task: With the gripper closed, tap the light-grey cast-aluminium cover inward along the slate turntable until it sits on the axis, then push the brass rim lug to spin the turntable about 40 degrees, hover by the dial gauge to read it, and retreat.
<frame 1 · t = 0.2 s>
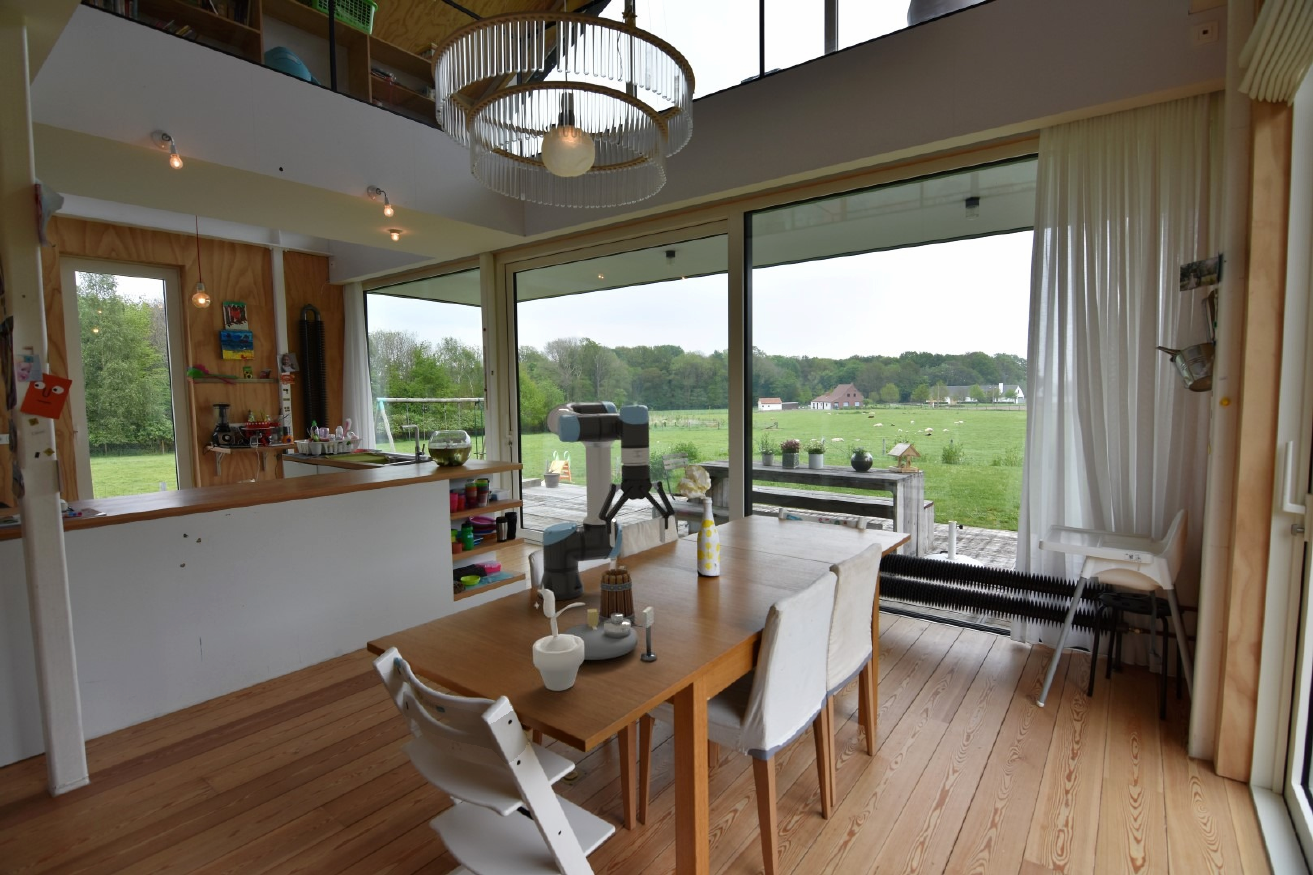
hand: (637, 544, 162), 27 cm above the table, fingers open, 13 cm apart
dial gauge: (648, 658, 154), on the table
mug: (619, 620, 181), on the table
turntable: (598, 632, 159), point 5 cm above the table, hinge at 0.0°, touching cover
potted plant: (561, 686, 140), on the table
cover: (617, 633, 160), point 4 cm above the table, touching turntable
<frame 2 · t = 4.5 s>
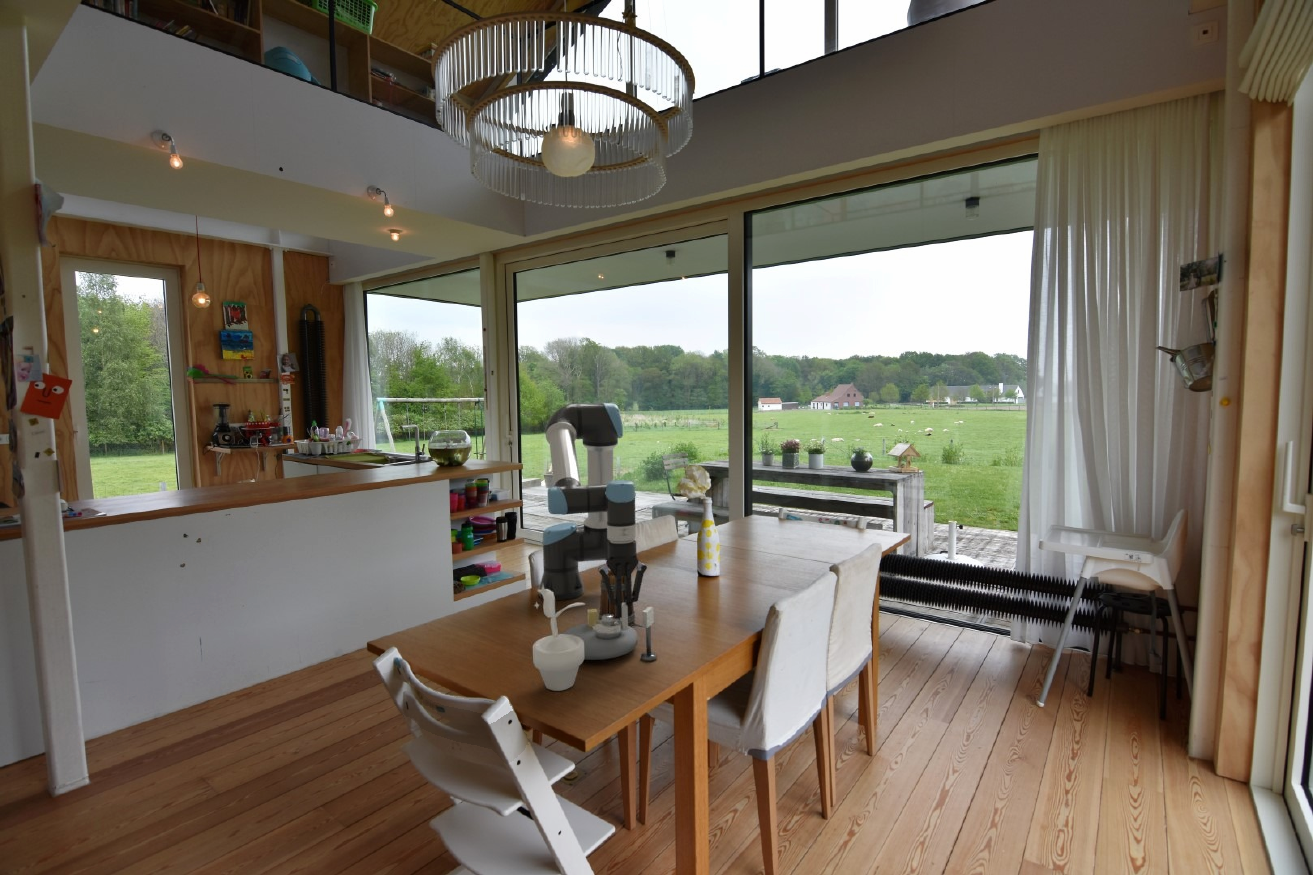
hand: (624, 628, 161), 5 cm above the table, fingers closed
turntable: (598, 632, 159), point 5 cm above the table, hinge at 0.0°
cover: (608, 634, 160), point 4 cm above the table, touching gripper
everything else where it was.
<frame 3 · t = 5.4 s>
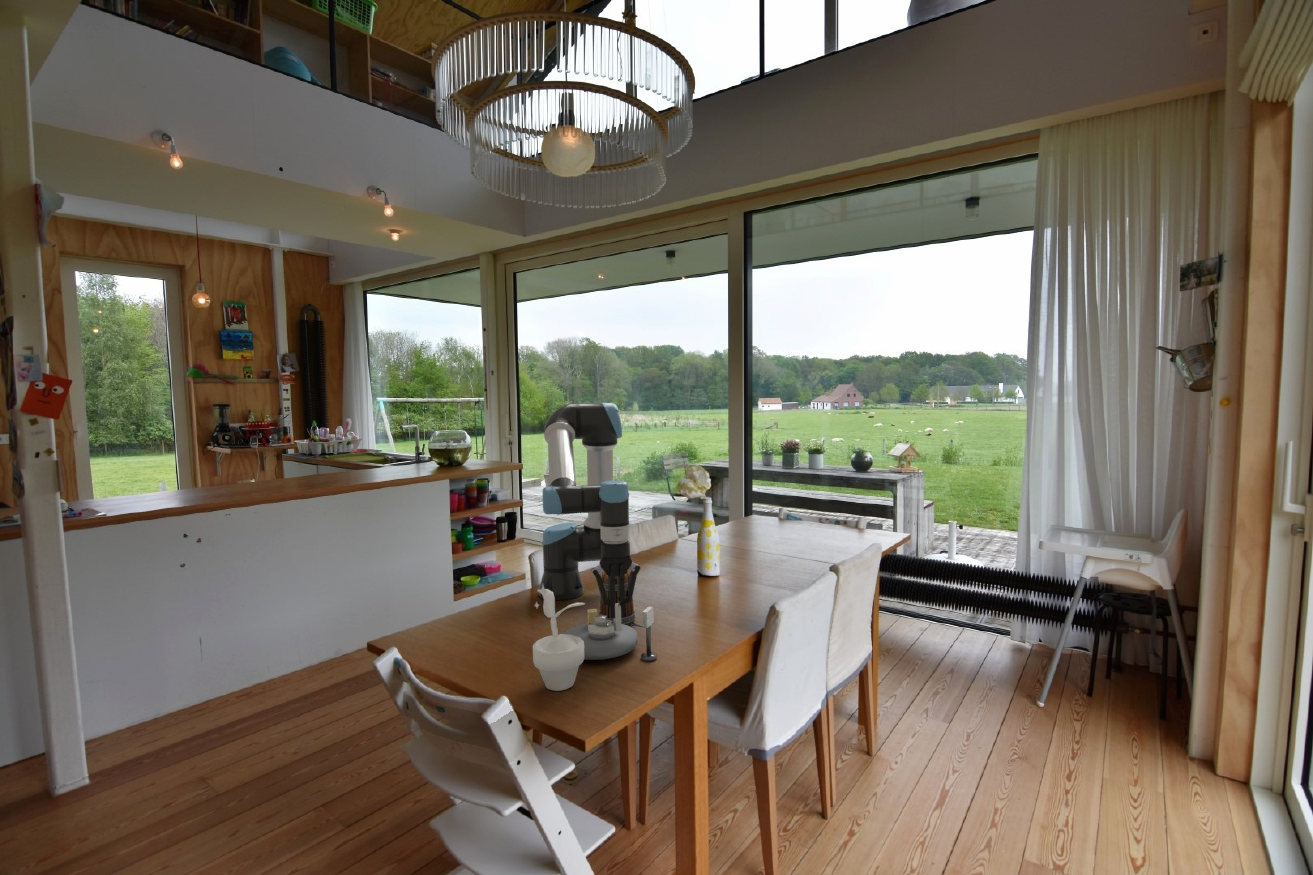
hand: (617, 629, 160), 5 cm above the table, fingers closed
turntable: (598, 632, 159), point 5 cm above the table, hinge at 0.0°, touching cover
cover: (601, 635, 159), point 4 cm above the table, touching turntable
everything else where it was.
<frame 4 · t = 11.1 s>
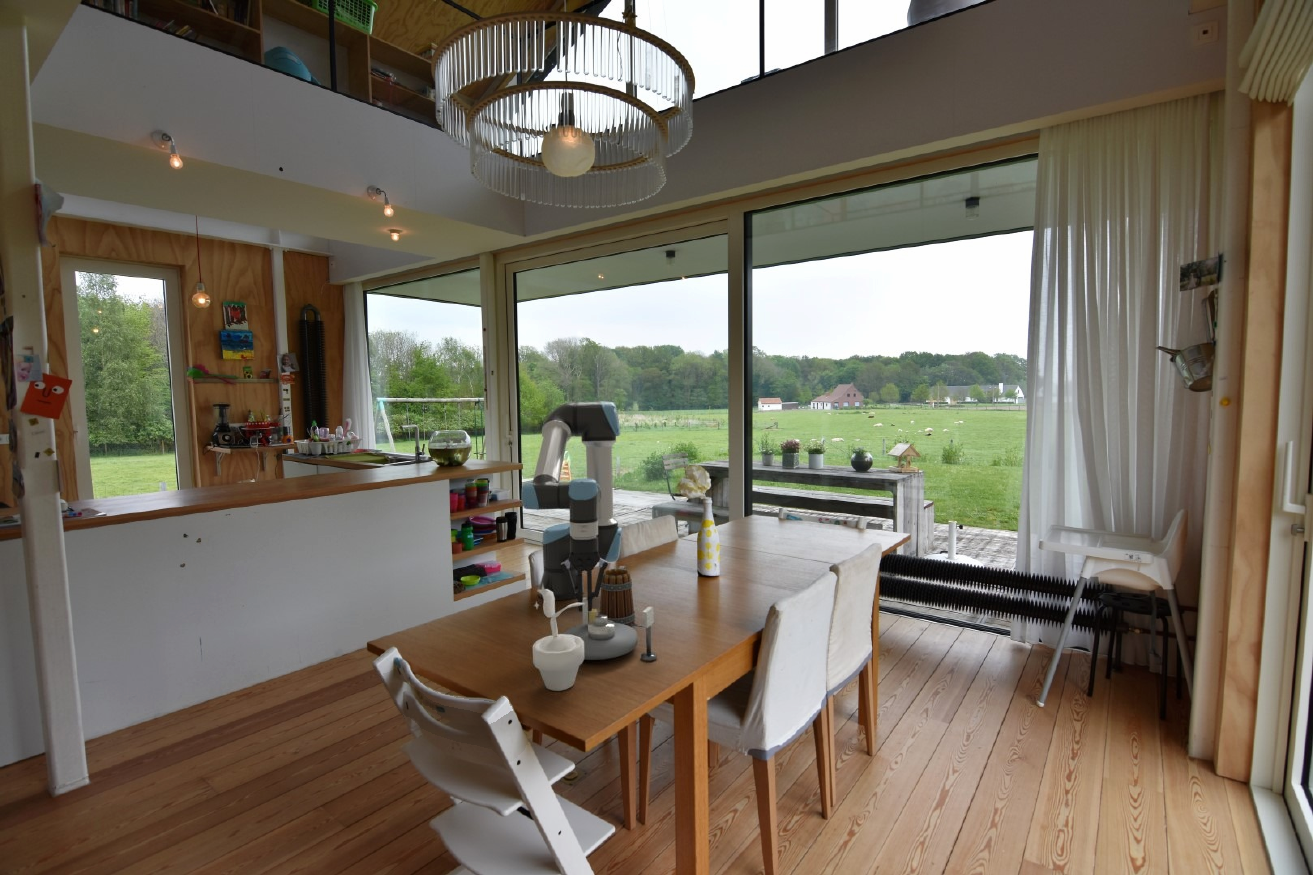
hand: (585, 622, 166), 5 cm above the table, fingers closed
turntable: (598, 632, 159), point 5 cm above the table, hinge at -0.3°, touching cover, gripper
everything else where it was.
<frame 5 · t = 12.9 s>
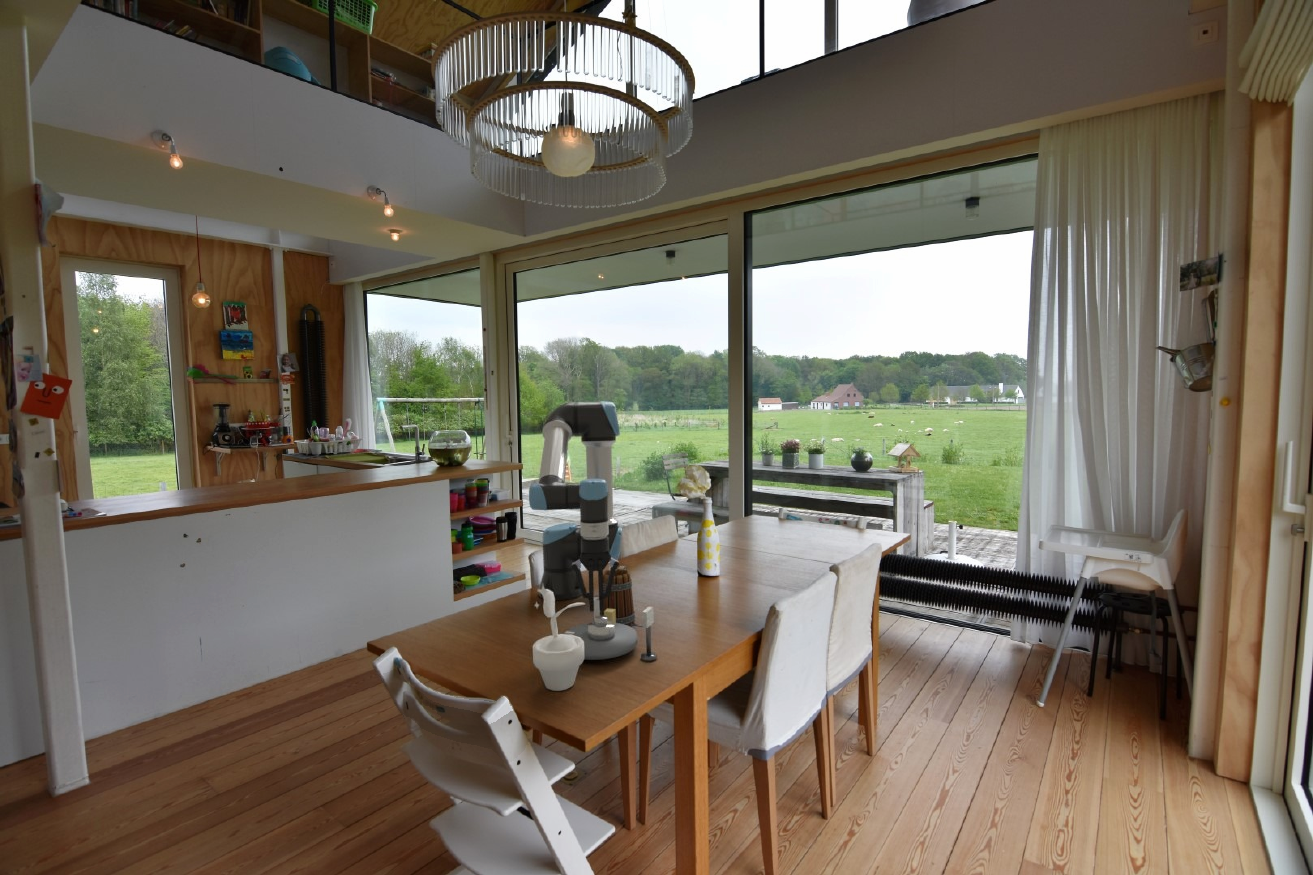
hand: (597, 622, 166), 5 cm above the table, fingers closed
turntable: (598, 632, 159), point 5 cm above the table, hinge at -33.0°, touching cover
everything else where it was.
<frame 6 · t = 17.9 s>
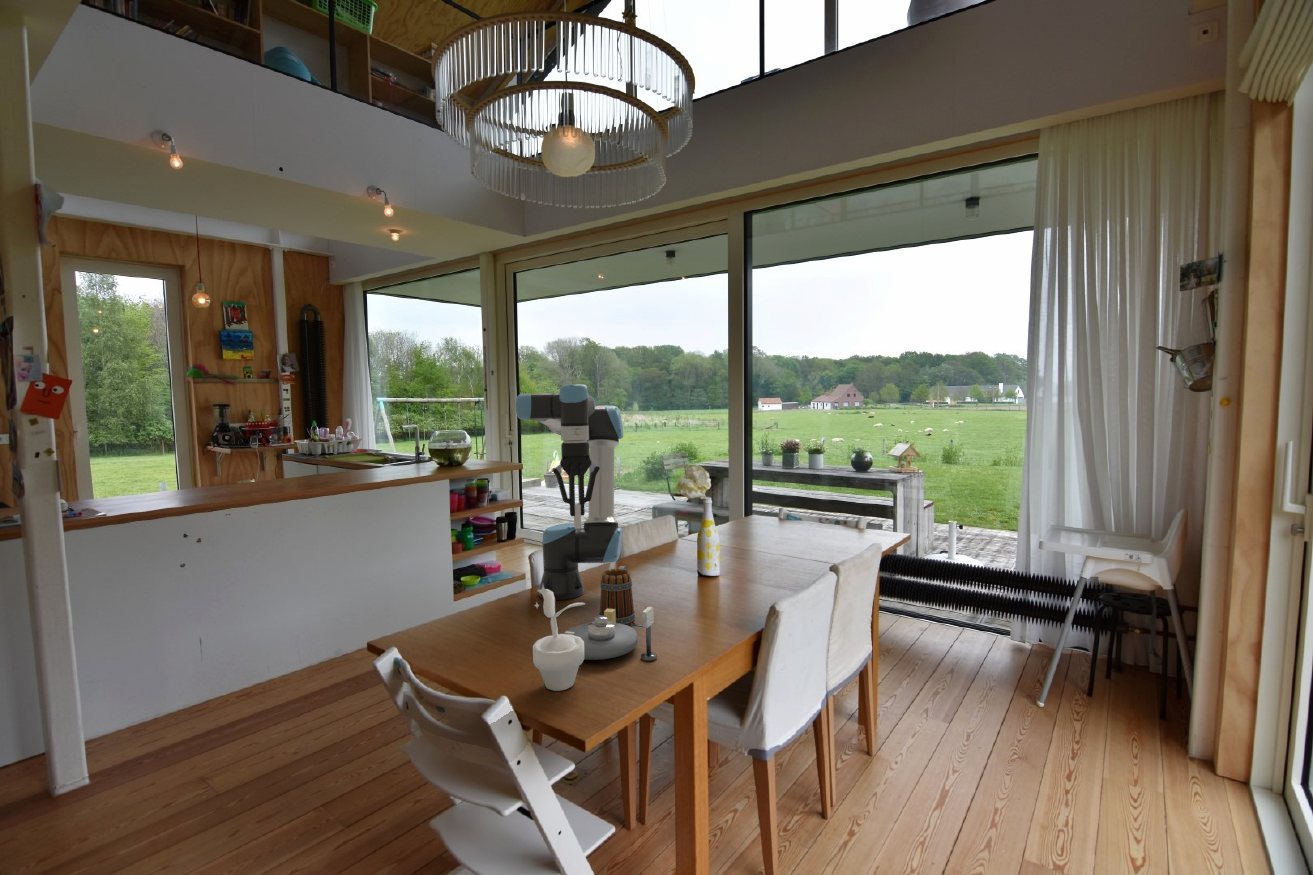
hand: (577, 527, 167), 30 cm above the table, fingers closed
nothing on the table moved.
at the end: cover 0.8 cm from the turntable (horizontally); turntable at -33° (first picture: +0°); cover point 3.8 cm above the table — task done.
